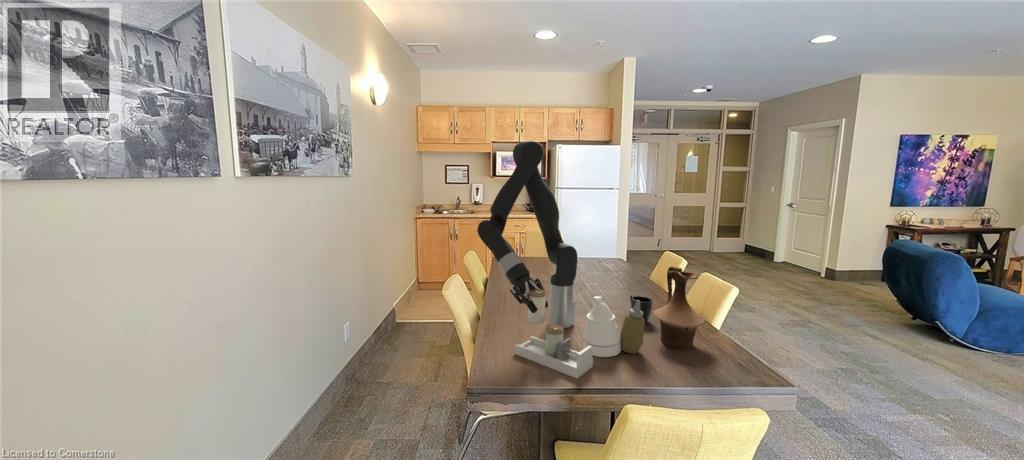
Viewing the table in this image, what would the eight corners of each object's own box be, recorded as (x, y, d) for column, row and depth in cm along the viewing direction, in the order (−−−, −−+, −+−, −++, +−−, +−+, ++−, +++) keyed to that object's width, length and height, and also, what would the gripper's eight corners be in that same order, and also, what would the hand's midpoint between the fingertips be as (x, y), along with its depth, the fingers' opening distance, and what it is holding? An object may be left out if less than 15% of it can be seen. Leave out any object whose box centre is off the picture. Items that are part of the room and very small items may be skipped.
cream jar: (538, 316, 131) (539, 287, 130) (548, 321, 126) (549, 292, 125) (524, 318, 128) (525, 290, 127) (533, 324, 123) (534, 295, 122)
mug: (639, 313, 169) (640, 292, 167) (654, 323, 157) (656, 301, 156) (622, 314, 167) (623, 293, 166) (636, 325, 155) (638, 302, 154)
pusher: (556, 363, 120) (556, 345, 119) (567, 355, 125) (568, 338, 124) (569, 368, 117) (570, 349, 116) (580, 360, 122) (581, 342, 121)
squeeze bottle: (629, 357, 127) (639, 305, 124) (612, 346, 134) (621, 297, 131) (646, 354, 131) (655, 304, 128) (628, 343, 138) (637, 296, 135)
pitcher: (642, 334, 146) (647, 263, 142) (681, 331, 150) (687, 262, 146) (670, 355, 129) (676, 275, 125) (713, 351, 133) (721, 273, 129)
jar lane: (514, 353, 129) (515, 333, 128) (531, 344, 136) (532, 325, 135) (577, 378, 113) (578, 355, 112) (592, 366, 121) (593, 345, 120)
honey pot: (575, 345, 136) (574, 296, 134) (604, 338, 141) (604, 291, 139) (598, 360, 124) (597, 307, 122) (628, 351, 130) (628, 300, 127)
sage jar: (555, 351, 128) (556, 323, 127) (566, 358, 123) (567, 329, 122) (541, 355, 125) (542, 326, 124) (551, 362, 120) (552, 332, 119)
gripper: (506, 265, 124) (534, 309, 118) (532, 258, 135) (560, 298, 129) (494, 278, 128) (521, 321, 122) (520, 270, 139) (546, 309, 133)
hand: (541, 309), depth 126 cm, fingers closed on cream jar, 5 cm apart
